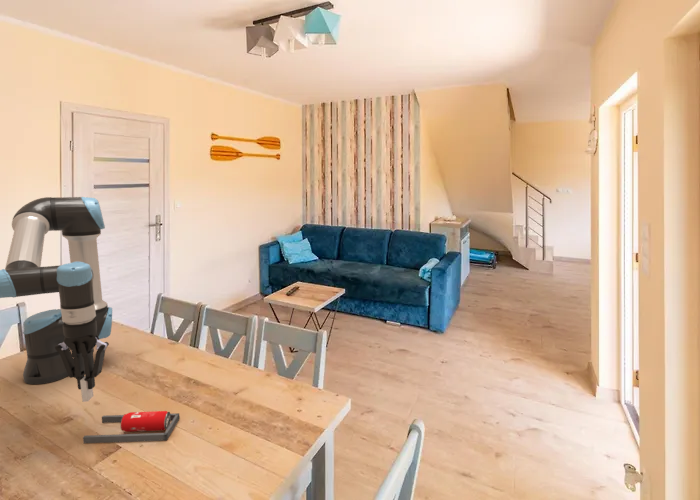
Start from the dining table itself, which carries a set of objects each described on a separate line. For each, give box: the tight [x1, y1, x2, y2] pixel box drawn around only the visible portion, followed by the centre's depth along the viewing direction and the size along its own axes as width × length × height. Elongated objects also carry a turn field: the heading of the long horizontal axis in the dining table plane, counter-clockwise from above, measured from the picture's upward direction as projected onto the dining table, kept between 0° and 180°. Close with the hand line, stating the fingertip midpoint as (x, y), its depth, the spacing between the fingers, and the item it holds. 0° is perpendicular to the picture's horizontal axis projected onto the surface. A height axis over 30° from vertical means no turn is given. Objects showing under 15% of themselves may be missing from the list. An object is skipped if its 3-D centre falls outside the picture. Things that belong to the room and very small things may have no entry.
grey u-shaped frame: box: [82, 413, 180, 444], centre depth 110 cm, size 22×10×2 cm, turn 95°
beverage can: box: [120, 410, 172, 433], centre depth 111 cm, size 5×5×12 cm
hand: (87, 398), depth 109 cm, fingers closed
